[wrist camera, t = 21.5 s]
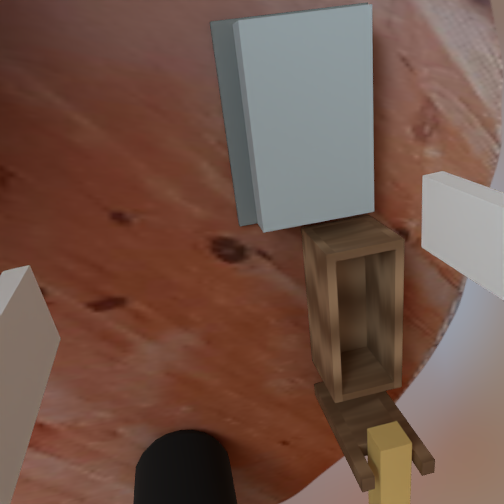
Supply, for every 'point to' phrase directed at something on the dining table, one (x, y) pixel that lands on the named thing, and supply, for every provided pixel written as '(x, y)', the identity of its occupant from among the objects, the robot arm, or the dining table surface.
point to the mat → (238, 112)
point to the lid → (308, 114)
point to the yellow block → (389, 464)
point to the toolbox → (358, 333)
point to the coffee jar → (184, 471)
